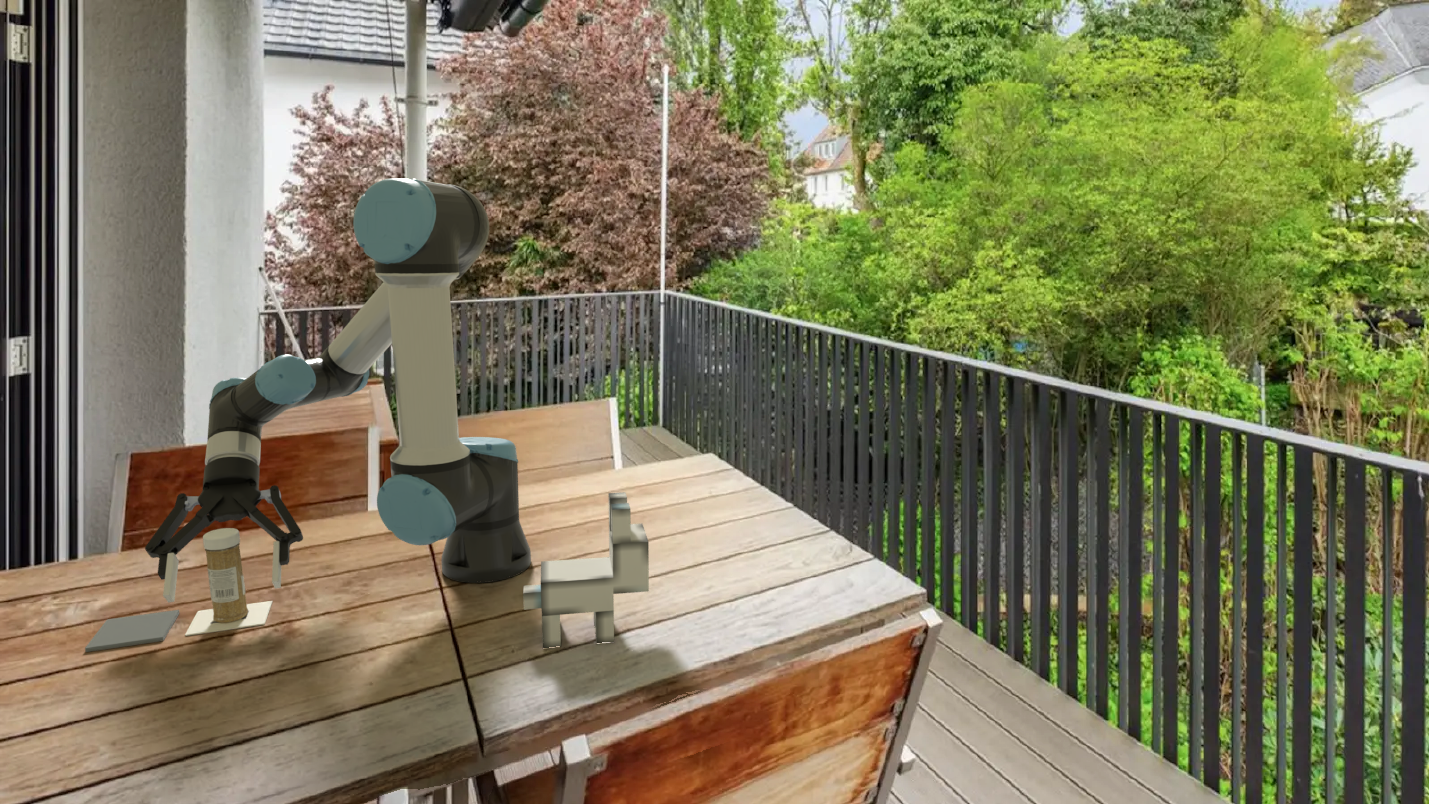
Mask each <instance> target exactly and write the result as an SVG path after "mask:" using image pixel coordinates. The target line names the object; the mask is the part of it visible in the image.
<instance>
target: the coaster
mask: <svg viewBox="0 0 1429 804" xmlns="http://www.w3.org/2000/svg"><path fill="white" fill-rule="evenodd" d="M179 615H180V609H173V610H166V611H159V612H152V613H143V614H137V615H130V616H128V615H127V616H124V617H114V618H108V619H106V620H105V621H104V623H103V624H102V626H100V628H99V629H98V631H97V632H96V633H95V634H94V636H93V637H92V639H91V640H90V641H89V642H88V643H87V645H86V646H85V648H84V651H85V653H89V652H98V651H103V650H111V649H117V648H123V647H130V646H138V645H144V644H150V643H158V642H164V640H165V639H166V637H167V635H168V634H169V632H170V631H171V628H172V627H173V625H174V624H175V622H176V620H177V618H178V617H179ZM169 630H170V631H169Z"/></svg>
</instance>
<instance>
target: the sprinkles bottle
mask: <svg viewBox="0 0 1429 804" xmlns="http://www.w3.org/2000/svg"><path fill="white" fill-rule="evenodd" d="M202 541H203V542H202V543H203V549H204V551H205V556H206V562H207V563H206V564H207V569H206V570H207V576H208V583H209V584H208V585H209V591H210V592H209V593H210V599H211V604H212V609H213V612H214V615H213V620H214V621H216V622H220V623H227V622H232V621H236V620H239V619H241V618H243V617H244V616H246V615H247V613H248V609H247V604H248V603H247V599H246V586H245V585H246V584H245V577H244V574H243V566H242V565H243V564H242V556H241V549H240V543H241V536H240V531H239V530H238V529H237V528H233V527H224V528H223V527H222V528H217V529H213V530H210V531H208V532H206V533H204V534H203V536H202Z"/></svg>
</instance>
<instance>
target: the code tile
mask: <svg viewBox="0 0 1429 804" xmlns="http://www.w3.org/2000/svg"><path fill="white" fill-rule="evenodd" d="M246 604H247V609H248V613H247V615H246V616H244V617H243V618H241V619H239V620H236V621H232V622H227V623H220V622H216V621H214V620H213V615H214V612H213V608H209V609H202V610H197V612H196V614H195V616H194V617H193V619H192V621H191V623H190V625H189V627H187V630H186V632H185V634H184V636H185V637H189V636H196V635H202V634H208V633H215V632H224V631H228V630H230V631H231V630H236V629H241V628H242V629H244V628H249V627H251V628H252V627H257V626H265V624H266V622H267V619H268V616H269V613H270V610H271V607H272V604H273V600H269V601H262V602H261V601H260V602H259V601H258V602H254V603H246Z"/></svg>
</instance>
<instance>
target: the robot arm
mask: <svg viewBox="0 0 1429 804" xmlns="http://www.w3.org/2000/svg"><path fill="white" fill-rule="evenodd" d="M352 222H353V232H354V236H355V238H356V242H357V244H358V245H359V247H360V248H362V249H363V253H365V254H366V256H368V257H369V258H370V259H372V260H374V261H373V262H374V272H375V276H376V277H377V278H378V279H379V280H380V281H382V283H381V284H380V285H379V287H378V288H377V289H376V290H375V291H374V293H373V294H371V296H370V297H369V299H368V300H367V301H366V302H365V303H364V304H363V305H362V307H361V308H360V309H359V310H358V311H357V312H356V314H355V315H354V316H353V317H352V318H351V319H350V320H349V322H348V323H347V324H346V325H345V327H344V328H342V330H341V331H340V332H339V333H338V335H337V336H336V337H335V339H333V341H332V342H331V343H330V344H329V345H328V346H327V347H326V349H324V350H323V352H322V353H321V354H320V355H318V356H317V357H314V358H313V357H312V358H309V359H307V358H306V359H303V358H301V357H299V356H294V355H292V354H281V355H278V356H277V357H275V358H274V359H272V360H269V361H267V362H265V363H264V364H263V365H261V366H260V367H259V369H257V370H256V371H255V372H254V373H252V374H251V375H250V376H248V377H247V378H244V377H230V378H229V379H222V380H220V381H219V382H218V383H216V384H215V385H214V387H213V388H212V392H211V398H210V401H209V402H210V403H209V405H208V410H209V412H208V414H209V415H208V427H207V442H206V448H205V449H206V450H205V459H204V469H203V480H202V491H201V492H200V494H199V495H198V496H197V495H195V496H194V495H193V496H189V495H187V494H186V493H185V492H182V493H181V492H180V493H179V494H178V495H177V496H176V500H175V503H174V506H173V508H172V509H171V511H170V512H169V514H168V515H167V516H166V517H165V519H164V520H163V522H162V523H161V525H160V526H159V527H158V529H157V530H156V531H155V533H154V534H153V536H152V537H151V538H150V540H149V541H148V543H147V544H146V545H145V547H144V550H145V551H146V553H147V554H148V555H149V557H150V558H152V559H155V558H157V559H158V568H157V575H158V577H159V578H160V581H161V580H163V581H164V583H163V591H162V596H163V598H164V599H165V600H166V601H167V603H175V599H176V589H177V588H176V587H177V581H178V580H177V579H178V571H179V561H180V560H179V558H178V557H177V555H178V554H179V553H180V552H181V551H182V550H183V549H184V548H186V546H187V545H188V544H189V543H191V541H192V540H193V539H194V538H196V537H197V536H198V535H199V534H200V533H201V532H202V531H203V530H204V529H205V528H208V527H209V526H211V525H212V524H213V523H214V522H215V521H216V522H218V523H225V522H228V521H236V522H237V521H242V520H243V519H244V518H246V517H247V518H248V519H250V520H251V521H252V522H253V523H255V524H257V525H258V526H259V527H260V528H261V529H262V530H264V531H265V532H266V533H267V534H268V535H269V536H270V537H271V538H273V539H274V541H273V544H272V545H273V546H272V547H273V549H272V550H273V551H272V570H271V571H272V572H271V573H272V574H271V575H272V576H271V583H272V585H273V587H274V589H280V588H281V587H282V586H281V585H282V566H288V565H289V564H290V556H291V555H290V551H291V549H290V548H291V546H292V544H294V543H299V542H302V541H303V540H304V536H303V532H302V530H301V528H300V526H299V525H298V523H297V522H296V520H295V519H294V517H293V516H292V514H291V513H290V511H289V509H288V508H287V506H286V505H285V503H284V502H283V500H282V494H281V491H280V489H279V486H278V485H271V486H270V488H268V489H264V490H260V488H259V486H260V469H261V468H260V463H261V448H262V447H261V445H262V443H261V442H262V433H263V432H262V429H263V427H264V426H265V425H266V424H268V423H269V422H271V421H272V420H274V419H275V418H277V417H278V416H279V415H281V414H282V413H285V411H288V410H290V409H293V408H294V409H295V408H298V407H302V406H306V405H310V404H311V405H312V404H315V403H319V402H322V401H327V400H332V399H336V398H341V397H342V398H344V397H348V396H350V395H352V394H355V393H357V392H360V391H361V390H363V389H364V388H365V387H366V386H367V384H368V383H369V382H368V381H369V377H370V369H371V367H372V366H373V365H374V364H375V363H376V362H377V361H378V359H379V358H380V357H381V356H382V355H383V354H384V353H385V352H386V351H387V350H388V348H389V347H390V346H392V358H393V359H392V360H393V370H394V383H395V385H394V386H395V398H396V408H397V409H396V410H397V422H398V424H397V425H398V435H399V437H398V438H399V445H398V447H397V448H396V449H395V450H394V451H393V452H392V453H391V454H390V457H389V459H390V460H389V461H390V473H391V477H389V478H387V479H386V480H385V481H384V482H383V483H382V486H381V487H380V488H379V489H378V492H377V495H376V496H377V497H376V507H377V511H378V516H379V517H380V520H381V521H382V523H383V525H384V526H385V527H386V529H388V531H391V532H392V533H393V535H394V536H395V537H396V538H397V539H398V540H400V541H402V542H404V543H407V544H409V545H412V546H413V545H414V546H428V545H432V544H434V543H436V542H439V541H441V540H444V539H445V545H444V548H443V551H442V553H441V554H442V555H441V560H440V561H441V571H442V574H443V575H444V577H447V578H448V579H450V580H453V581H456V582H461V583H468V584H469V583H471V584H474V583H475V584H477V583H478V584H480V583H481V584H482V583H483V584H484V583H491V582H498V581H503V580H506V579H509V578H513V577H515V576H517V575H519V574H521V573H524V572H525V571H526V570H527V569H529V567H530V565H531V563H532V559H531V558H532V557H531V556H532V555H531V548H530V545H529V543H528V540H527V537H526V534H525V532H524V529H523V527H522V524H521V522H520V507H519V506H520V504H519V503H520V502H519V501H520V500H519V473H518V472H519V467H518V464H519V459H518V455H517V454H518V453H517V447H516V446H517V445H515V443H514V442H513V441H511V440H509V439H507V438H500V437H499V438H498V437H488V436H469V437H468V436H467V437H460V436H459V435H460V434H459V433H460V432H459V418H458V417H459V416H458V403H457V402H458V400H457V399H458V398H457V387H456V385H457V384H456V372H455V371H456V370H455V355H454V353H455V352H454V340H453V337H454V334H453V325H452V324H453V323H452V321H453V320H452V306H451V291H450V290H451V289H450V286H451V284H452V283H453V282H454V281H455V280H459V279H460V278H462V276H463V275H464V274H465V273H466V272H467V271H468V270H469V269H470V268H471V266H473V264H474V263H475V262H476V261H477V260H478V259H479V257H480V255H481V254H482V252H483V250H484V249H485V247H486V245H487V242H488V239H489V235H490V220H489V216H488V213H487V211H486V209H485V207H484V205H483V204H482V202H481V200H479V198H477V196H476V195H474V194H473V193H472V192H470V191H469V190H467V189H465V188H464V187H461V186H459V185H454V184H449V183H438V182H434V181H433V182H432V181H428V180H427V181H426V180H420V179H416V178H407V177H405V178H385V179H382V180H379V181H377V182H375V183H374V184H372V185H371V186H369V187H368V188H367V189H366V191H365V193H364V194H363V195H361V196H360V198H359V200H358V202H357V204H356V206H355V209H354V215H353V221H352ZM262 500H265V501H266V503H268V504H271V505H273V507H274V510H275V511H276V513H277V514H278V516H279V517H280V520H282V522H283V523H284V526H285V527H286V529H287V530H288V531H289V532H285V531H284V530H283V529H282V528H280V527H279V526H278V525H277V524H276V523H274V522H273V520H271V519H270V518H269V517H268V516H266V515H265V514H264V513H263V512H262V511H261V510H260V509H259V508H258V507H257V506H258V504H259V503H261V502H262ZM198 505H199V506H200V507H201V508H200V509H199V510H198V511H197V512H196V513H195V516H194V517H192V518H191V519H190V521H188V522H187V523H186V524H185V525H184V526H183V527H181V529H179V527H180V526H181V525H182V524H183V522H184V520H185V519H186V517H188V513H189V512H192V511H193V510H194V508H195V507H196V506H198ZM178 529H179V530H178ZM177 530H178V531H177Z"/></svg>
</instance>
